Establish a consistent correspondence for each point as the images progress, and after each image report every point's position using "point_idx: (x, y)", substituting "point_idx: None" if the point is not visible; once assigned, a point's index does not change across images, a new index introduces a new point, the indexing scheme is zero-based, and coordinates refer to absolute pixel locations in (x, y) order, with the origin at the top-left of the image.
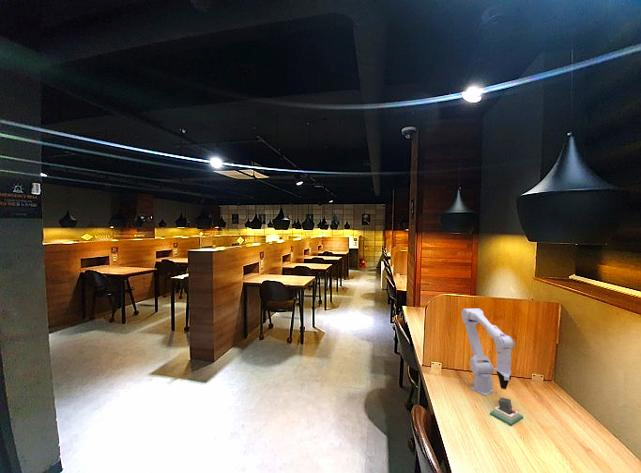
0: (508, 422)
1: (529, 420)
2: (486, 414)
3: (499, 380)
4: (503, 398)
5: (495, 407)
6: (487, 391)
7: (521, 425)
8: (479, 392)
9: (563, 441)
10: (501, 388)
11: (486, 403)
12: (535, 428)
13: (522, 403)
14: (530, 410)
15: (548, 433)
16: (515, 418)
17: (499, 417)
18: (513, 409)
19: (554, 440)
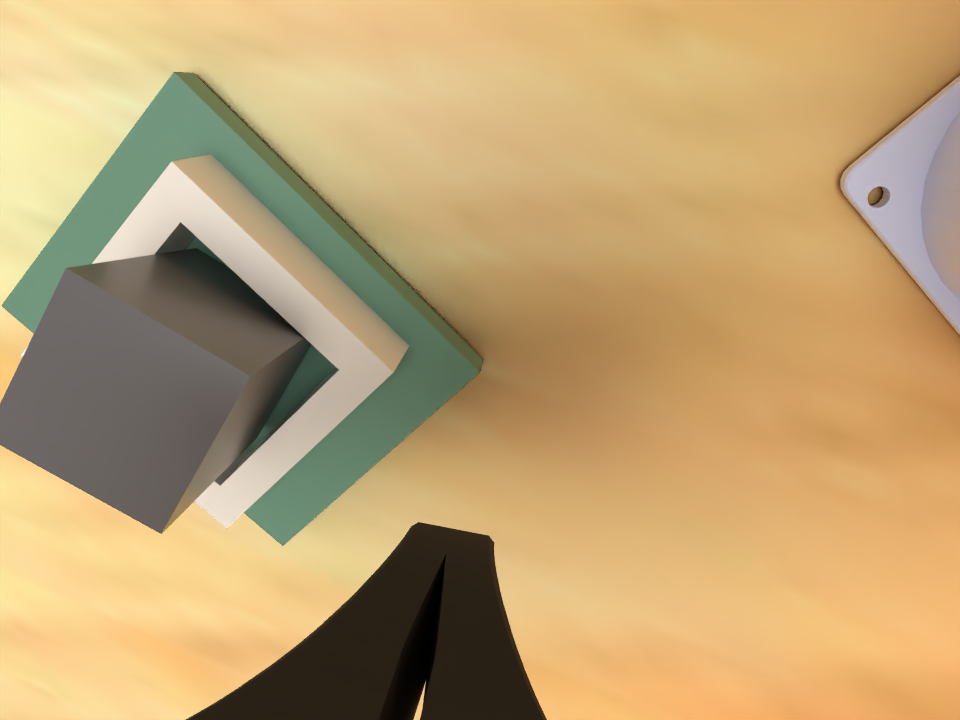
0: (19, 284)
1: (289, 578)
2: (186, 12)
3: (438, 655)
4: (196, 413)
5: (200, 193)
6: (947, 273)
7: None
8: (937, 97)
9: (40, 710)
10: (414, 527)
11: (559, 129)
12: (142, 568)
13: (695, 674)
14: (536, 687)
15: (110, 649)
16: None
17: (87, 192)
18: (265, 478)
19: (11, 644)
